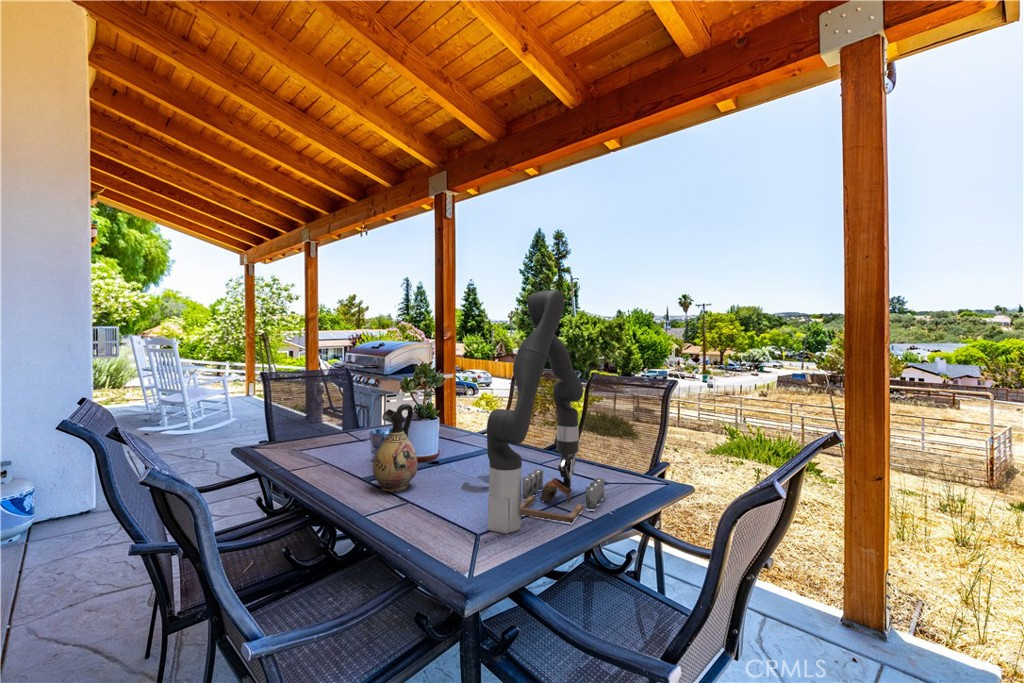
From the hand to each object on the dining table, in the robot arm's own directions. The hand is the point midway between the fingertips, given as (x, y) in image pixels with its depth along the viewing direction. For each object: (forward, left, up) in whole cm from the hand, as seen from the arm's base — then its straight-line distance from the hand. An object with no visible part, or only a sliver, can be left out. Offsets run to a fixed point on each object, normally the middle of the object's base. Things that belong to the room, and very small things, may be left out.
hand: (567, 488), depth 154 cm
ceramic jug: (-21, +57, -3) cm, 61 cm away
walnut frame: (-18, 0, -3) cm, 18 cm away
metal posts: (-5, 0, -3) cm, 5 cm away
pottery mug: (-8, +2, -3) cm, 9 cm away
